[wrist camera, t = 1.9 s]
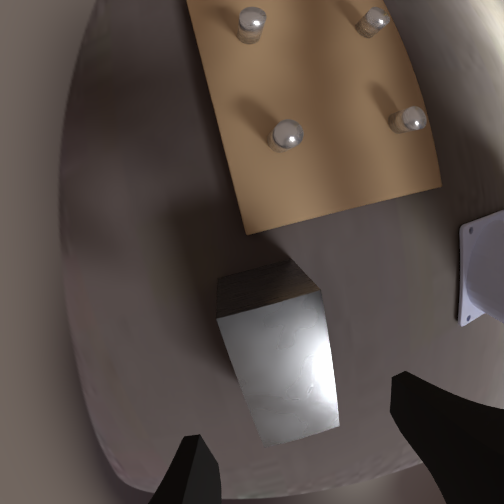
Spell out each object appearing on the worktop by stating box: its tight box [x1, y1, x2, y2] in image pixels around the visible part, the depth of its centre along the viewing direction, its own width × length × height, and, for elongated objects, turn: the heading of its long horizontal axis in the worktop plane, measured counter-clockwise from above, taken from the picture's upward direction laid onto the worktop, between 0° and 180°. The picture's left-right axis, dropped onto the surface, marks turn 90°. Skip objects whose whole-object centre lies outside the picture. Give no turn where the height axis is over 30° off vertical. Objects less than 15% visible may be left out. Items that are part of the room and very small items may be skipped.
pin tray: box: [186, 0, 442, 235], centre depth 12 cm, size 12×14×3 cm
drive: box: [216, 259, 339, 448], centre depth 14 cm, size 4×8×5 cm, turn 14°
